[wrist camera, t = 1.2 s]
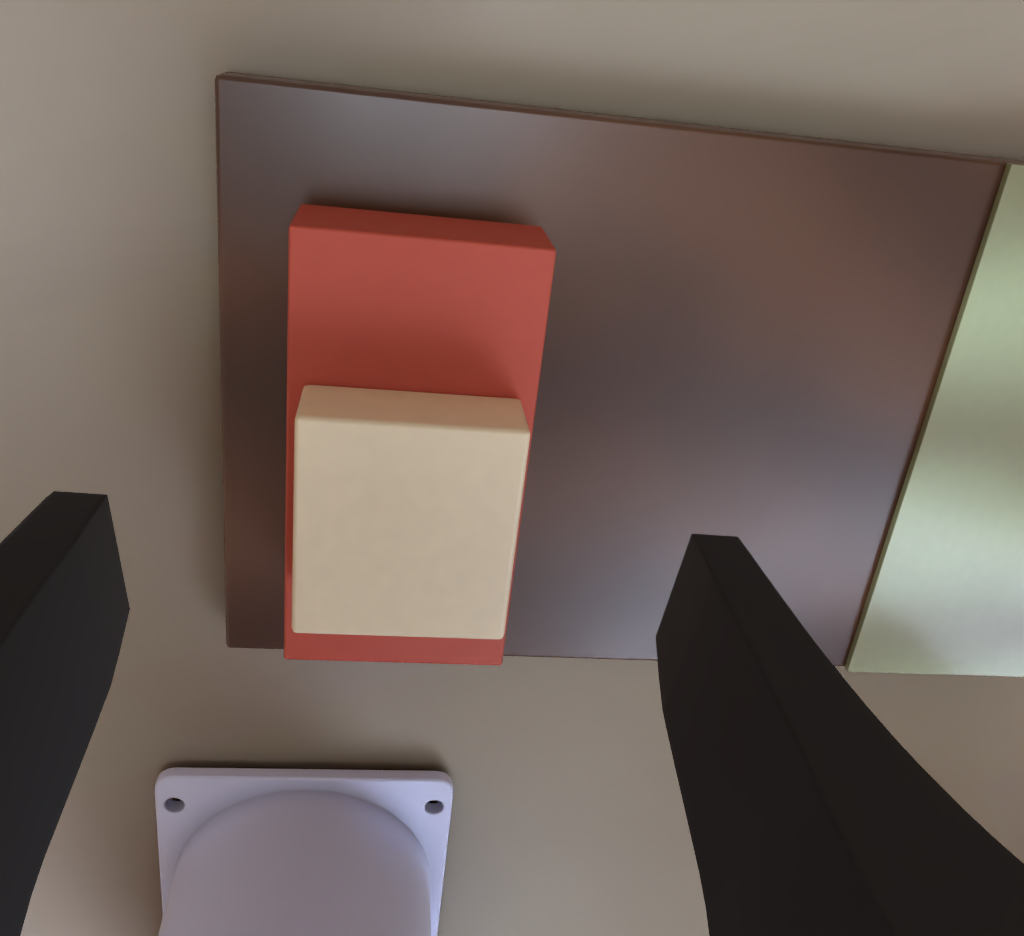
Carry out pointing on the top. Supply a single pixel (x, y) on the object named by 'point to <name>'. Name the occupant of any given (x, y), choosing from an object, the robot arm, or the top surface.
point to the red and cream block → (408, 431)
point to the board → (679, 363)
